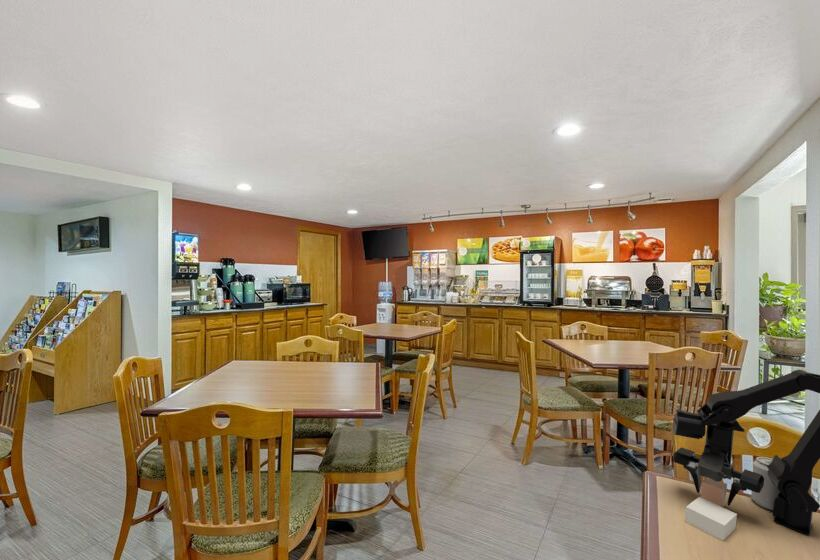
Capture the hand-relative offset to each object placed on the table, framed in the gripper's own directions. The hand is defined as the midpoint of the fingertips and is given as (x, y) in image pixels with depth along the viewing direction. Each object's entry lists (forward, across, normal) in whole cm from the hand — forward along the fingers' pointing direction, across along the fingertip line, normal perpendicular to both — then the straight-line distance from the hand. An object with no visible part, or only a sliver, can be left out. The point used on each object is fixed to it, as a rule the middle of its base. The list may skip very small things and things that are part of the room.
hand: (713, 498), depth 107 cm
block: (+2, 0, 0) cm, 2 cm away
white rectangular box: (+2, +2, -11) cm, 11 cm away
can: (+2, +10, +12) cm, 16 cm away
